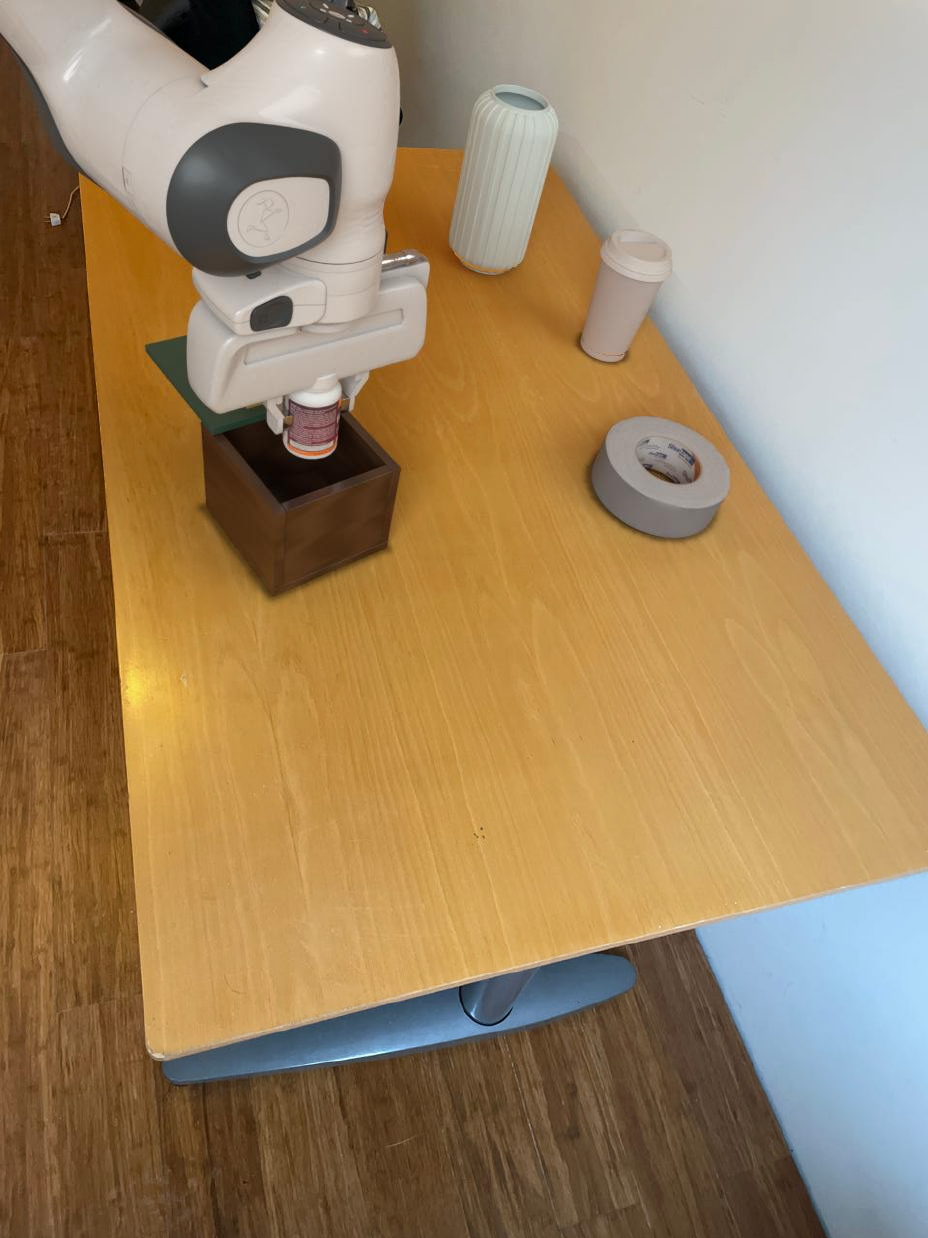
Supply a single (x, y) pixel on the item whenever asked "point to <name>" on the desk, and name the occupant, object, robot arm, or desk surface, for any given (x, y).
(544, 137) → the vase
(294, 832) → the desk surface
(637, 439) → the tape roll
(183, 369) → the lid
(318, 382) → the pill bottle
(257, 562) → the box
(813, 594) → the desk surface
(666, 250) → the coffee cup
